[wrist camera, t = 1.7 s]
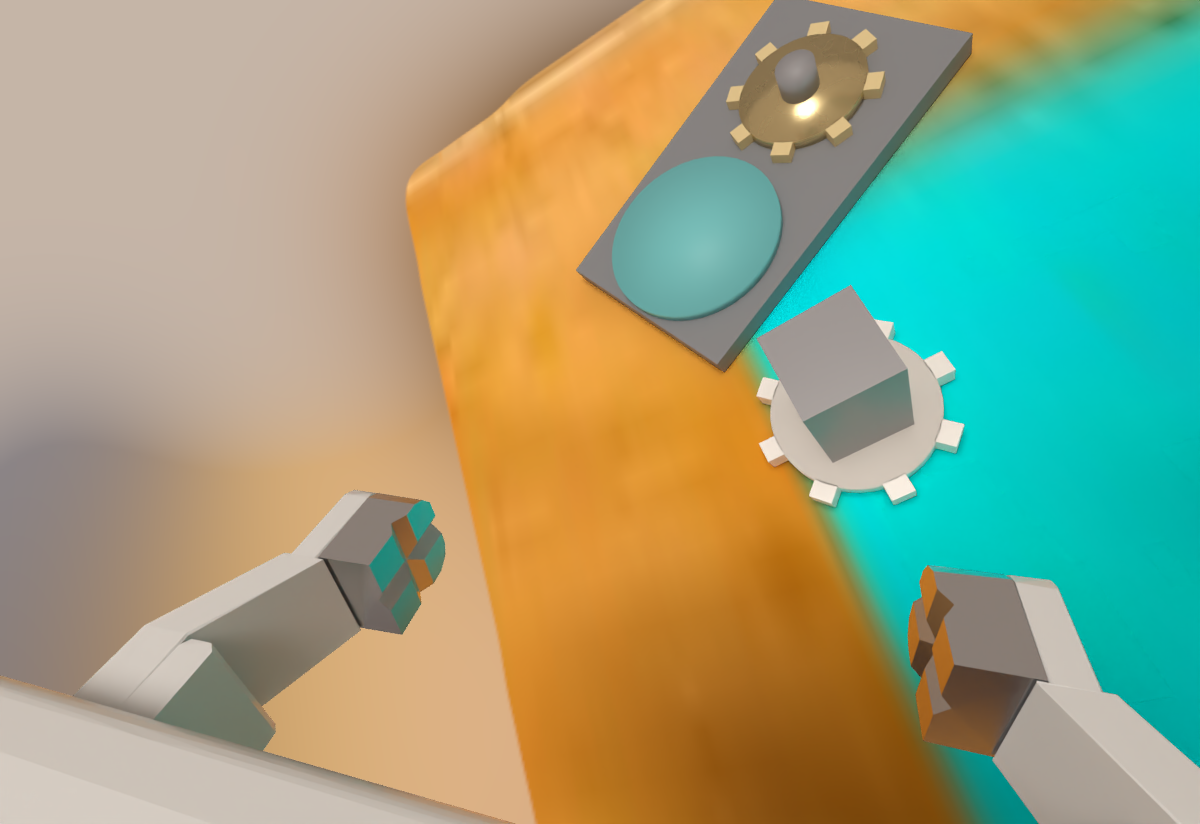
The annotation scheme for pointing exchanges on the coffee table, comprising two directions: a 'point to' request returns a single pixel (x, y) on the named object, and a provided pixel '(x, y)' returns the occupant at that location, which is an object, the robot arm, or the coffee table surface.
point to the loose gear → (853, 401)
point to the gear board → (769, 169)
